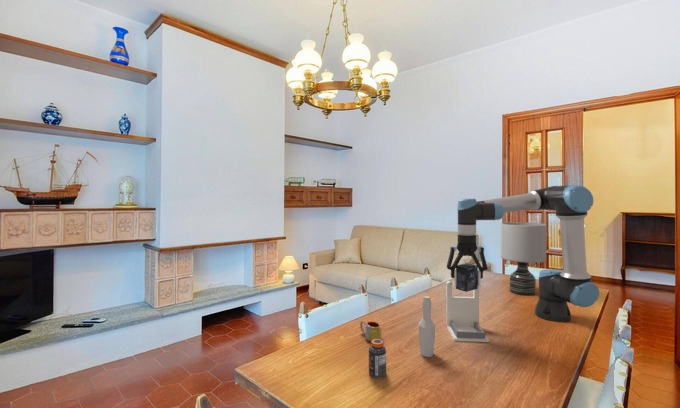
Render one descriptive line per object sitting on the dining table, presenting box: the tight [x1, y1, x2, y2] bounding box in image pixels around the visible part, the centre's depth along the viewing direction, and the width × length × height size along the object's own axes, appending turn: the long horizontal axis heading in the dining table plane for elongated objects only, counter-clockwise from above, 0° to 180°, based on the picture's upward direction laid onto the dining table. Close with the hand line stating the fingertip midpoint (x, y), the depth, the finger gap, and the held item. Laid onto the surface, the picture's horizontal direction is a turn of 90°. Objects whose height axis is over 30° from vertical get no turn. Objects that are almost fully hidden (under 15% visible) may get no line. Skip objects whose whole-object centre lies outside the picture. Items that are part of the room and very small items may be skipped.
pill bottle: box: [368, 339, 387, 379], centre depth 111 cm, size 6×6×11 cm
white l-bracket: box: [445, 280, 490, 343], centre depth 142 cm, size 15×16×21 cm
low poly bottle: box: [418, 295, 436, 358], centre depth 124 cm, size 6×6×22 cm
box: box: [455, 262, 479, 293], centre depth 142 cm, size 8×6×11 cm
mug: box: [359, 320, 383, 343], centre depth 140 cm, size 12×7×7 cm, turn 33°
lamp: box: [500, 221, 547, 297], centre depth 201 cm, size 24×24×42 cm
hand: (466, 285), depth 142 cm, fingers closed on box, 9 cm apart
